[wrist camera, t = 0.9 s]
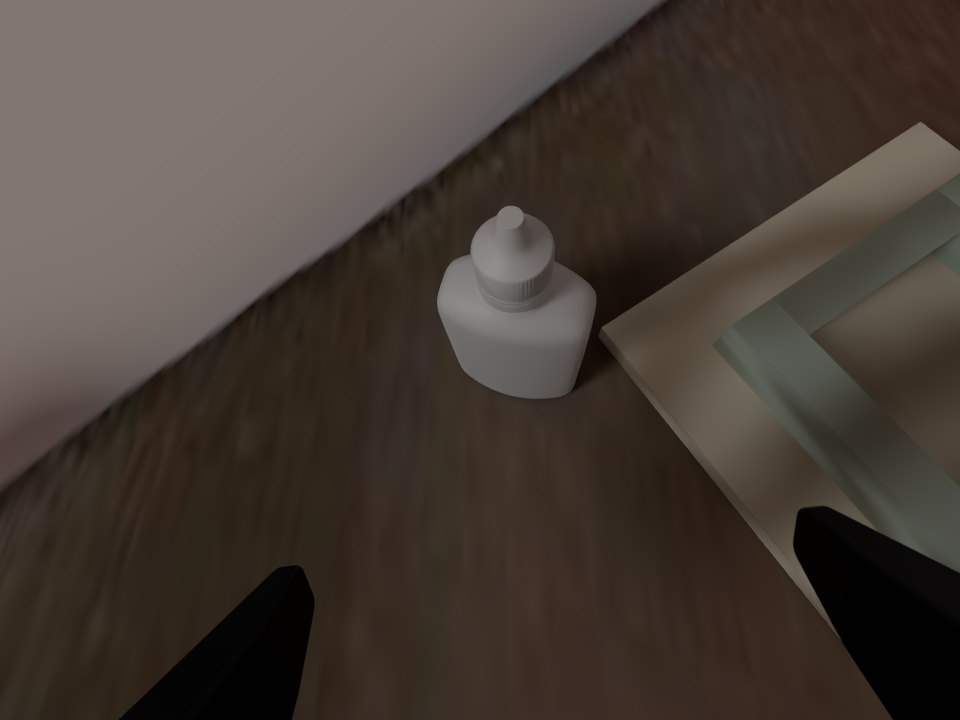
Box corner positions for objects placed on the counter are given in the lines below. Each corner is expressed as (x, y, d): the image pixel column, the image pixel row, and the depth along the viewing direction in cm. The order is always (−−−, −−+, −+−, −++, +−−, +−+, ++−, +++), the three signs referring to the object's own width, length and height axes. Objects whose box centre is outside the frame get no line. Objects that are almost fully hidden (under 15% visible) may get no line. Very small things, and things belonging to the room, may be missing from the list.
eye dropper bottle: (508, 299, 25) (491, 112, 14) (592, 370, 23) (652, 223, 12) (448, 358, 24) (378, 211, 13) (531, 435, 23) (533, 343, 11)
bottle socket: (1312, 455, 19) (1485, 440, 16) (939, 763, 17) (1042, 822, 14) (903, 139, 26) (961, 79, 22) (598, 336, 24) (609, 304, 20)
